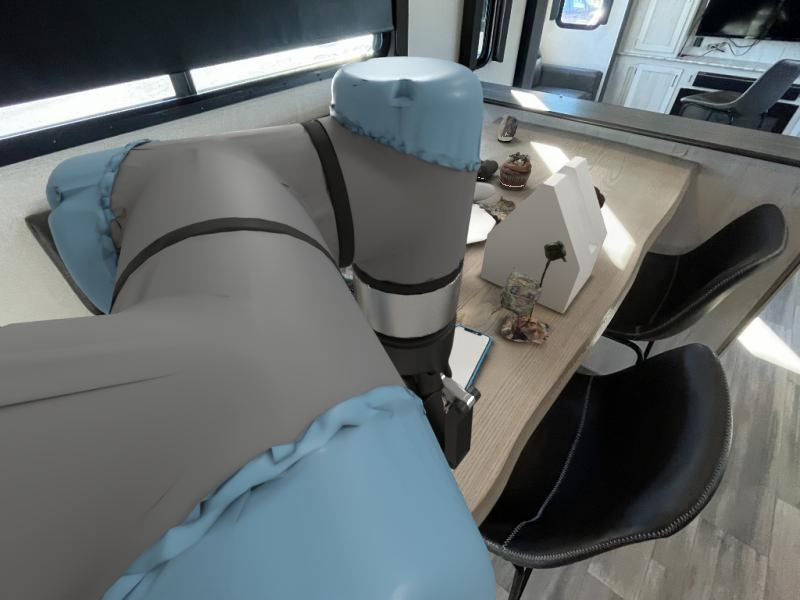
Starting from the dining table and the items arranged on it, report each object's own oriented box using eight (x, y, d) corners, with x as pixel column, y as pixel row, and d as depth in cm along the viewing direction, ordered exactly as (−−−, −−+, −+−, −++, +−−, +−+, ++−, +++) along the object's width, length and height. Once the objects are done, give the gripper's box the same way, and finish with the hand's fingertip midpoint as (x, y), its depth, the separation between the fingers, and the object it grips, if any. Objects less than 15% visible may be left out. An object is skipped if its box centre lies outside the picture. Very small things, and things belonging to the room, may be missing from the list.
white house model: (480, 277, 85) (497, 170, 68) (511, 247, 94) (534, 146, 77) (562, 313, 76) (606, 201, 59) (589, 276, 84) (633, 169, 68)
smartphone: (421, 380, 63) (456, 323, 73) (421, 384, 64) (455, 327, 73) (462, 398, 60) (493, 336, 70) (461, 402, 61) (492, 340, 71)
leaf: (513, 203, 111) (515, 197, 110) (518, 226, 99) (521, 219, 98) (476, 195, 112) (478, 189, 110) (476, 217, 99) (479, 210, 98)
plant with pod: (500, 306, 78) (519, 221, 64) (554, 328, 73) (586, 242, 59) (482, 329, 73) (499, 243, 59) (539, 355, 68) (571, 267, 54)
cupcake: (531, 181, 121) (538, 150, 114) (522, 193, 115) (529, 161, 108) (503, 175, 125) (508, 145, 118) (492, 187, 118) (497, 155, 112)
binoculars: (484, 185, 119) (486, 166, 115) (440, 174, 126) (441, 156, 121) (497, 173, 126) (500, 155, 121) (455, 163, 132) (457, 145, 128)
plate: (425, 198, 113) (425, 193, 112) (502, 214, 105) (503, 209, 104) (390, 236, 98) (390, 231, 97) (477, 258, 90) (478, 253, 89)
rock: (518, 132, 154) (502, 151, 155) (503, 118, 153) (487, 138, 154) (527, 122, 142) (509, 143, 143) (510, 107, 142) (493, 129, 143)
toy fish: (419, 150, 109) (404, 180, 109) (497, 179, 102) (481, 212, 102) (426, 167, 119) (412, 195, 120) (497, 195, 113) (482, 224, 113)
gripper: (553, 341, 25) (496, 483, 40) (353, 238, 35) (368, 384, 50) (496, 417, 21) (456, 543, 36) (286, 276, 30) (325, 423, 46)
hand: (405, 451), depth 43 cm, fingers closed on beer can, 7 cm apart
